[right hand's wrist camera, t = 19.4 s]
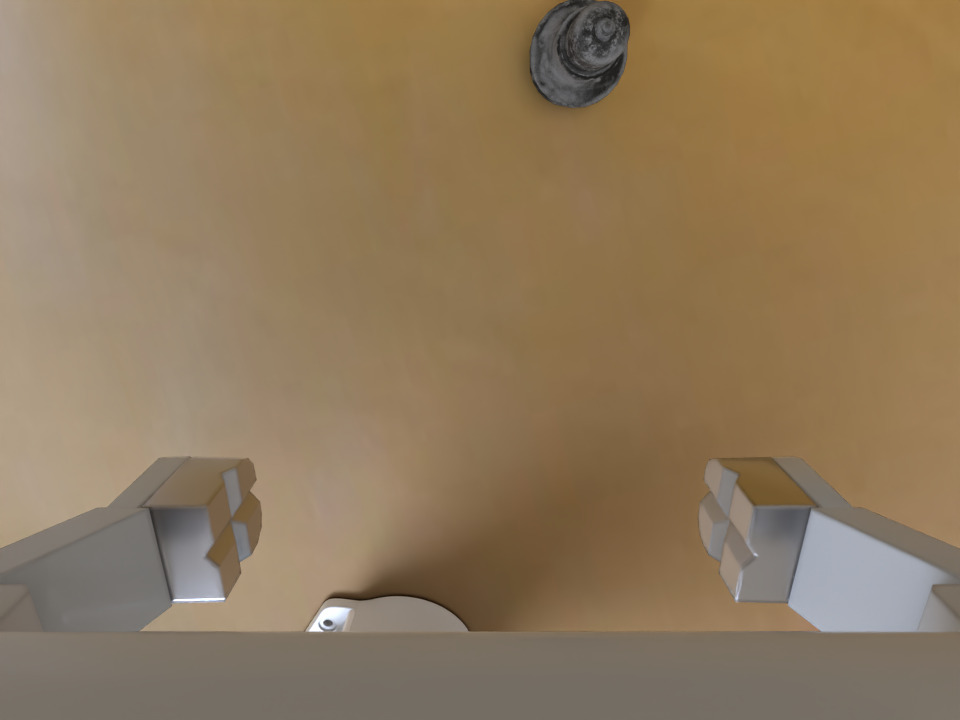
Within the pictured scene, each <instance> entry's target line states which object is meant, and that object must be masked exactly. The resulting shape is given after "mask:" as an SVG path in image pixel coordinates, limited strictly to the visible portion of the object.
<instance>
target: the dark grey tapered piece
mask: <svg viewBox="0 0 960 720" xmlns="http://www.w3.org/2000/svg"><path fill="white" fill-rule="evenodd" d="M629 36H630V25H629V20H628V17H627V15H626V13H625V12H624V10H623V9H622V8H621V7H620V6H618V5H616V4H615V3H613V2H608V1H595V0H568V1H565V2H563V3H560V4H558V5H557V6H556V7H554V8H553V9H552V10H550V11H549V12H548V13H547V14H546V15H545V17H544V18H543V19H542V20H541V22H540V23H539V25H538V27H537V29H536V31H535V33H534V35H533V38H532V43H531V48H530V73H531V76H532V80H533V83H534V85H535V86H536V88H537V90H538V92H539V93H540V94H541V95H542V96H543V97H544V98H545V99H546V100H548V101H550V102H552V103H553V104H556V105H560V106H565V107H571V108H578V107H586V106H589V105H592V104H594V103H597V102H598V101H600V100H601V99H603V98H604V97H606V96H607V95H608V94H609V93H610V92H611V91H612V90H613V89H614V87H615V86H616V85H617V83H618V81H619V80H620V78H621V76H622V74H623V72H624V68H625V64H626V60H627V43H628V39H629Z"/></svg>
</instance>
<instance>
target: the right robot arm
mask: <svg viewBox="0 0 960 720" xmlns="http://www.w3.org/2000/svg"><path fill="white" fill-rule="evenodd" d="M255 482H256V475H255V470H254V464H253V463H252V462H251V461H250V459H249V458H219V457H190V456H188V457H163V458H159V459H157V460H156V461H155V462H154V463H153V464H152V465H151V466H150V467H149V468H148V469H147V470H146V471H145V472H144V473H143V474H142V475H141V476H140V477H138V478H137V479H136V480H135V481H134V482H133V483H132V484H131V485H130V486H129V487H128V488H127V489H126V490H125V491H124V492H123V493H122V494H121V495H119V496H118V497H117V498H116V499H115V500H114V501H113V502H112V503H111V504H110V505H109V506H108V507H107V508H95V509H93V510H91V511H88V512H86V513H83V514H81V515H79V516H76V517H74V518H72V519H69V520H67V521H65V522H62V523H60V524H57V525H55V526H53V527H50V528H48V529H46V530H43V531H41V532H39V533H36V534H34V535H31V536H29V537H27V538H24V539H22V540H20V541H17V542H15V543H12V544H10V545H8V546H5V547H3V548H1V549H0V720H960V549H959V548H957V547H954V546H952V545H950V544H947V543H945V542H943V541H940V540H938V539H935V538H933V537H931V536H928V535H926V534H924V533H921V532H919V531H917V530H914V529H912V528H910V527H907V526H905V525H902V524H900V523H898V522H895V521H893V520H891V519H888V518H886V517H884V516H881V515H879V514H876V513H874V512H872V511H869V510H867V509H865V508H853V507H852V506H851V505H850V504H849V503H848V502H847V501H846V500H845V499H844V498H843V497H842V496H841V495H840V494H838V493H837V492H836V491H835V490H834V489H833V488H832V487H831V486H830V485H829V484H828V483H827V482H826V481H825V480H824V479H823V478H822V477H821V476H820V475H818V474H817V473H816V472H815V471H814V470H813V469H812V468H811V467H810V466H809V465H808V464H807V463H806V462H805V461H804V460H803V459H801V458H798V457H795V456H790V457H755V458H716V459H709V461H708V463H707V466H706V468H705V474H704V482H705V483H706V485H707V486H708V488H709V489H710V492H709V493H708V494H707V495H706V496H705V497H704V498H703V499H702V500H701V501H700V506H699V514H698V523H699V533H700V537H701V540H702V543H703V545H704V547H705V549H706V551H707V553H708V555H710V556H711V557H713V558H714V559H716V560H718V561H719V562H720V568H719V574H720V576H721V578H722V580H723V581H724V583H725V585H726V587H727V588H728V590H729V592H730V593H731V595H732V597H733V599H734V600H735V602H760V603H788V606H789V607H790V608H792V609H793V610H794V611H796V612H797V613H798V614H799V615H801V616H802V617H803V618H805V619H806V620H807V621H809V622H810V623H811V624H813V625H814V626H815V627H817V628H818V629H819V630H820V631H575V632H474V631H473V632H471V631H468V629H467V628H466V626H465V625H464V624H463V623H462V622H461V621H460V620H459V619H458V618H457V617H456V616H455V615H454V614H452V613H451V612H450V611H448V610H447V609H445V608H443V607H441V606H439V605H437V604H435V603H432V602H429V601H426V600H423V599H419V598H414V597H406V596H389V597H381V598H376V599H371V600H364V601H357V600H350V599H341V598H333V599H329V600H327V601H325V602H324V603H323V605H322V606H321V608H320V609H319V611H318V612H317V614H316V615H315V617H314V618H313V620H312V621H311V623H310V624H309V626H308V627H307V629H306V630H305V631H140V630H141V629H142V628H144V627H145V626H146V625H148V624H149V623H150V622H152V621H153V620H154V619H155V618H157V617H158V616H159V615H161V614H162V613H163V612H165V611H166V610H167V609H169V608H170V607H171V606H172V603H199V602H225V601H226V599H227V597H228V595H229V594H230V592H231V590H232V588H233V587H234V585H235V583H236V581H237V580H238V578H239V576H240V574H241V568H240V562H241V561H242V560H244V559H246V558H247V557H249V556H250V555H252V553H253V551H254V549H255V547H256V545H257V543H258V540H259V536H260V531H261V527H262V512H261V505H260V501H259V500H258V499H257V498H256V497H255V496H254V495H253V494H252V493H251V492H250V489H251V488H252V486H253V485H254V483H255ZM327 619H328V620H327ZM329 620H331V621H329Z"/></svg>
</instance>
